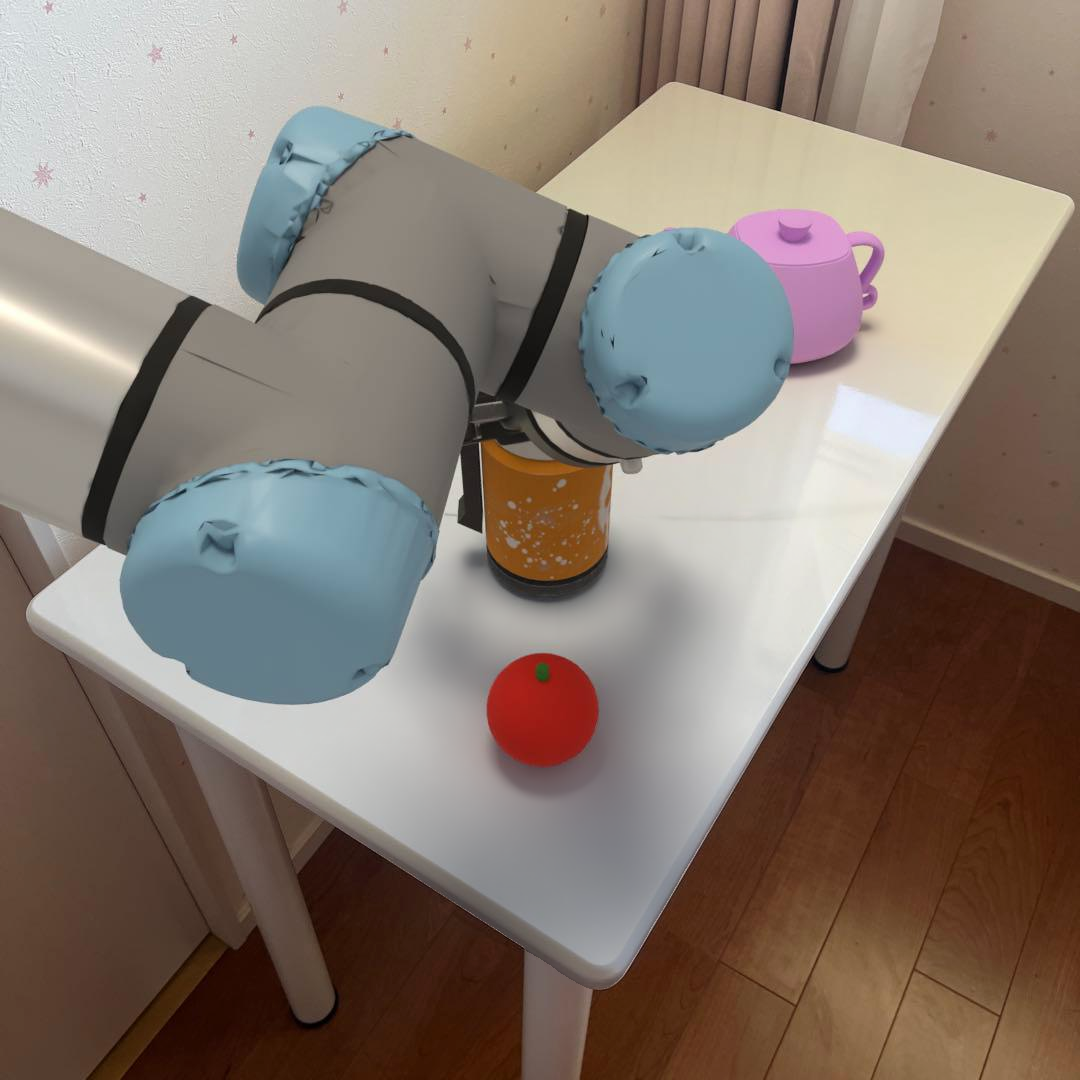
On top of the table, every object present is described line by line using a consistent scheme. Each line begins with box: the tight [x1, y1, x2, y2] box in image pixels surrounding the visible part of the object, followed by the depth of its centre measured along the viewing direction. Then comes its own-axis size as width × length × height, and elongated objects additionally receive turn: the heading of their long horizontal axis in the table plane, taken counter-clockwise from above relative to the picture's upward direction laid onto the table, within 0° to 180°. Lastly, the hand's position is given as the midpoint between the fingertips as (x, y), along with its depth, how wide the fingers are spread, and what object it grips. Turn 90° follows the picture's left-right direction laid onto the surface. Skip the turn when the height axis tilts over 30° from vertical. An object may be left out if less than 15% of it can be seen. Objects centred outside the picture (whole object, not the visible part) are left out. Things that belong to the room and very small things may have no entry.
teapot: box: [663, 208, 886, 365], centre depth 97 cm, size 20×13×12 cm, turn 96°
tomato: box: [486, 652, 600, 768], centre depth 68 cm, size 7×7×8 cm
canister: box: [456, 391, 614, 597], centre depth 75 cm, size 9×11×20 cm
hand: (530, 422), depth 73 cm, fingers open, 13 cm apart
